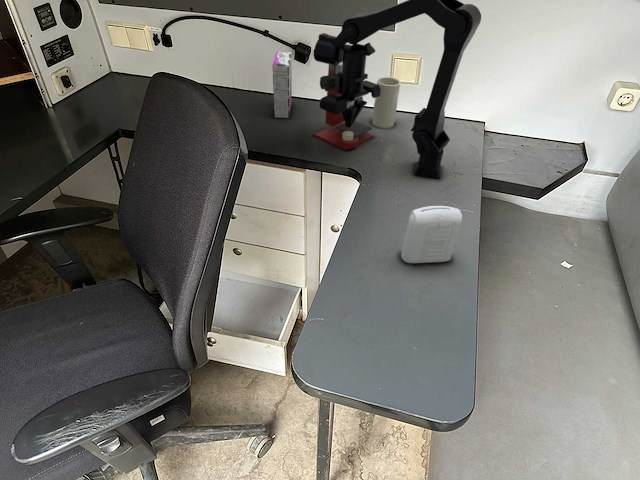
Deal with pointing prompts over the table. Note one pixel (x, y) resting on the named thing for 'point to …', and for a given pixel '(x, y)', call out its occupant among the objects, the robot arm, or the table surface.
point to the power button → (347, 136)
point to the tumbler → (386, 102)
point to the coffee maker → (335, 137)
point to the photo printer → (431, 234)
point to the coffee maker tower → (338, 118)
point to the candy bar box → (282, 84)
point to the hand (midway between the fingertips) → (348, 126)
